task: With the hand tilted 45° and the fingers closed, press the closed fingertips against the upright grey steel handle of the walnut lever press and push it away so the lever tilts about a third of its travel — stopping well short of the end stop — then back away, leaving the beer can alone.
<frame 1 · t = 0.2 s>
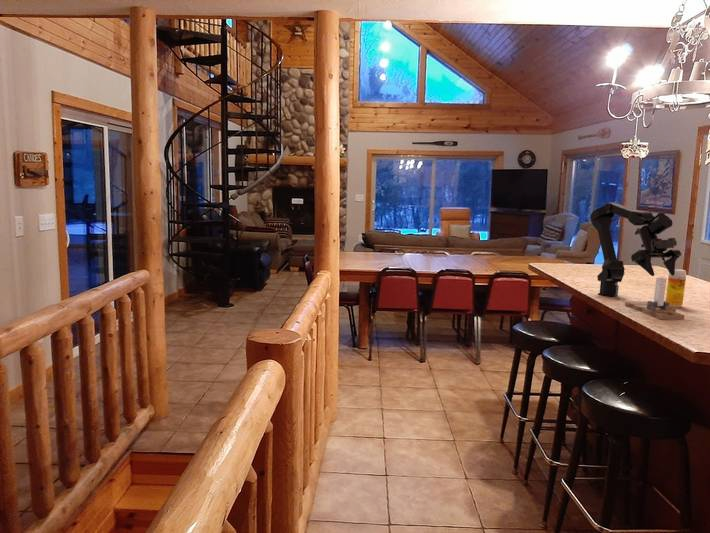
hand: (663, 275, 205), 14 cm above the countertop, tool tilted 35°, fingers open, 9 cm apart
lever: (659, 293, 202), point 8 cm above the countertop, hinge at 0.0°
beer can: (673, 306, 217), on the countertop
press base: (657, 313, 203), on the countertop
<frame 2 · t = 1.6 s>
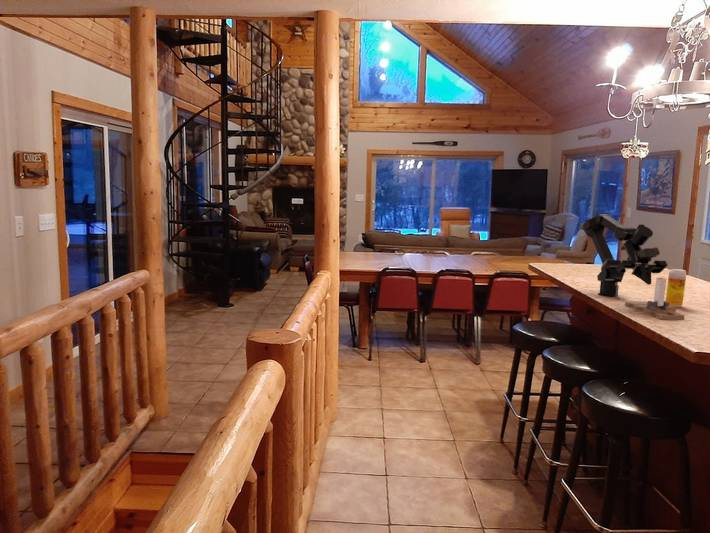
hand: (649, 284, 208), 10 cm above the countertop, tool tilted 45°, fingers closed
nothing on the countertop moved.
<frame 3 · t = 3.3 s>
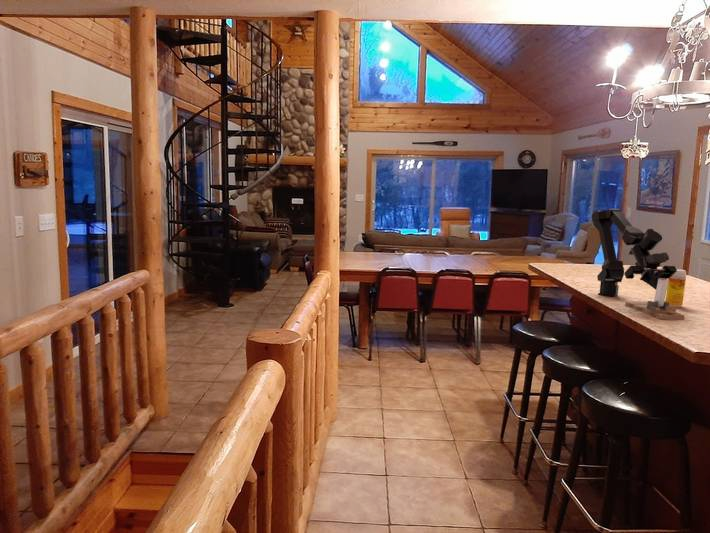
hand: (658, 290, 203), 9 cm above the countertop, tool tilted 45°, fingers closed, pressing on lever
lever: (660, 293, 202), point 8 cm above the countertop, hinge at 6.4°, touching gripper
everything else where it was.
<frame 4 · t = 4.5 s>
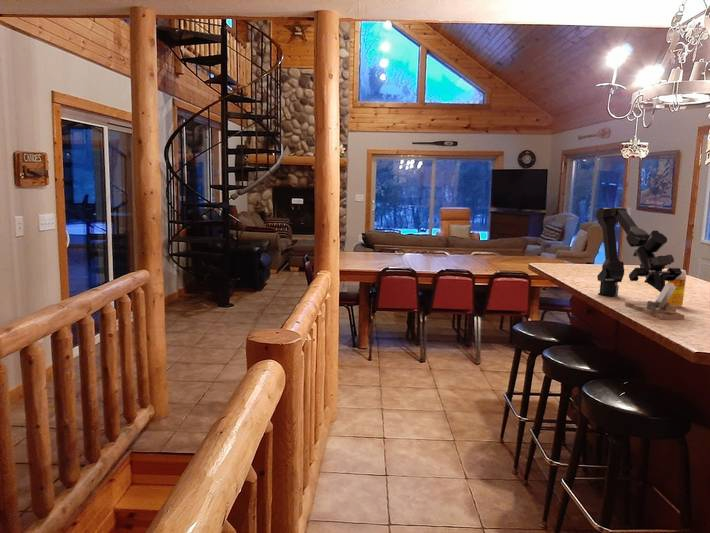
hand: (663, 292, 200), 9 cm above the countertop, tool tilted 45°, fingers closed, pressing on lever
lever: (664, 296, 200), point 7 cm above the countertop, hinge at 30.5°, touching gripper
everything else where it was.
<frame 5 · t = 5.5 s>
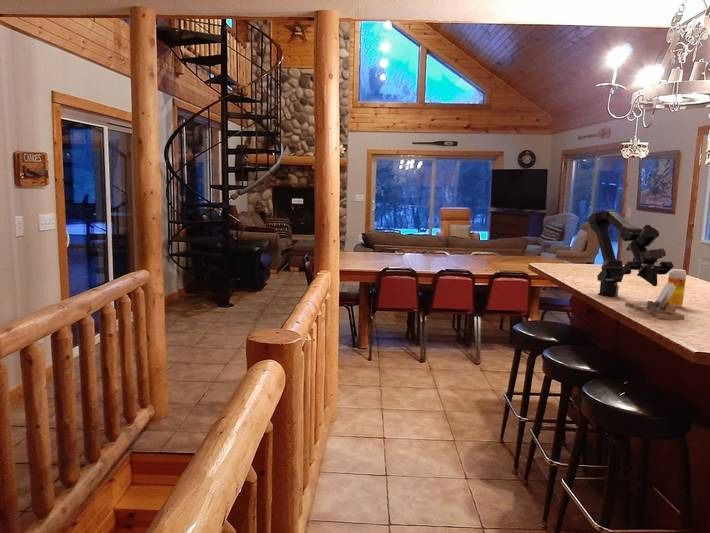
hand: (655, 285, 204), 10 cm above the countertop, tool tilted 45°, fingers closed
lever: (664, 296, 200), point 7 cm above the countertop, hinge at 30.7°
everything else where it was.
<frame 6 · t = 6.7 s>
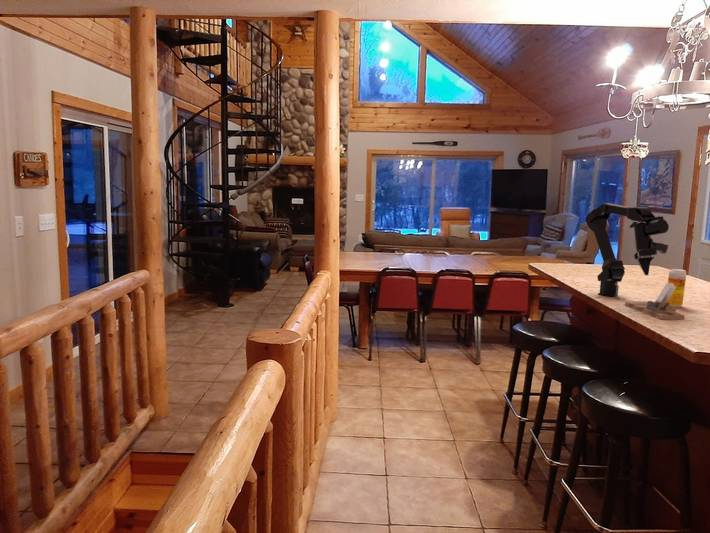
hand: (646, 275, 215), 13 cm above the countertop, tool tilted 15°, fingers closed
nothing on the countertop moved.
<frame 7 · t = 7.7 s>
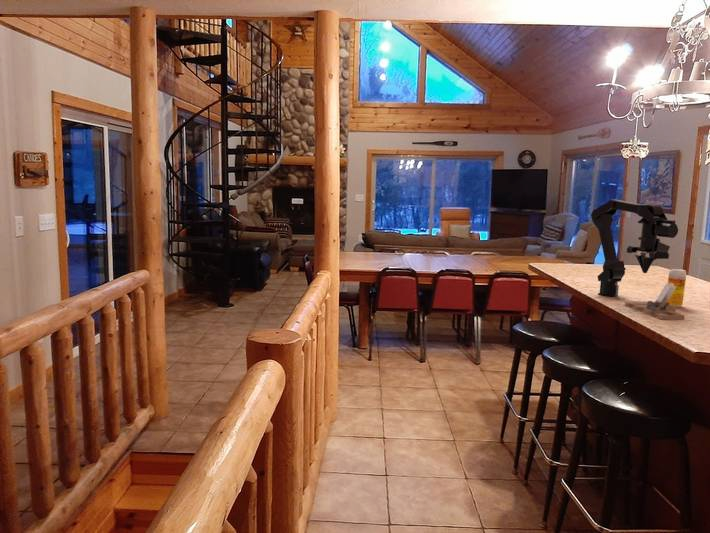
hand: (644, 272, 218), 13 cm above the countertop, tool pointing down, fingers closed
nothing on the countertop moved.
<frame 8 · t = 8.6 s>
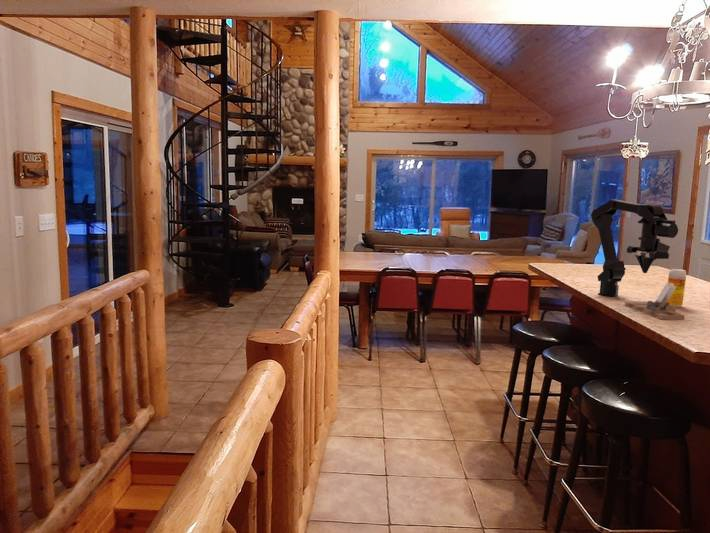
hand: (644, 272, 218), 13 cm above the countertop, tool pointing down, fingers closed
nothing on the countertop moved.
at the end: lever at +31° (first picture: +0°); the gripper is holding nothing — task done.
